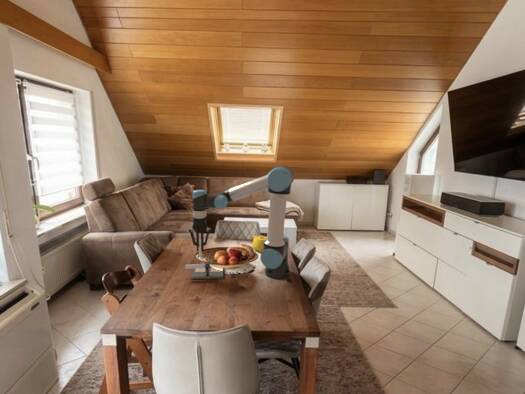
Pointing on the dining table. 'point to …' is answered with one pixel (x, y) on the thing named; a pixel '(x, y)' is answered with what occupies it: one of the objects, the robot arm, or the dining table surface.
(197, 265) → the cable arm
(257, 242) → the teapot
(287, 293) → the dining table surface
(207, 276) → the server plate
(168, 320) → the dining table surface
